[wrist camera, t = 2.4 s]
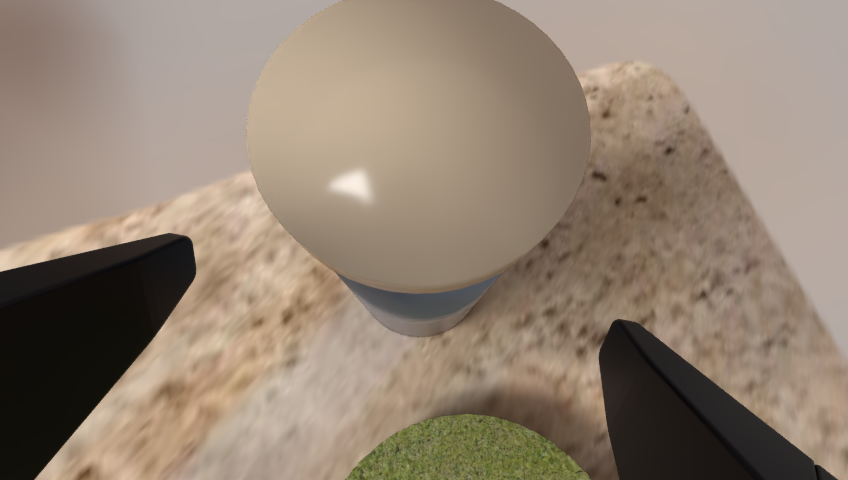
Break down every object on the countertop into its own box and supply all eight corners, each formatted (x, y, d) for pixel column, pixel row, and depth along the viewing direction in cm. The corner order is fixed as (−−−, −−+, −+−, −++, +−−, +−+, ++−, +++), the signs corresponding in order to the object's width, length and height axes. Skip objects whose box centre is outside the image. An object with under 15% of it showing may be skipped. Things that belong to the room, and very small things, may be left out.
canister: (508, 289, 19) (663, 150, 7) (404, 368, 18) (372, 365, 6) (432, 194, 20) (452, -60, 8) (331, 262, 19) (185, 83, 7)
